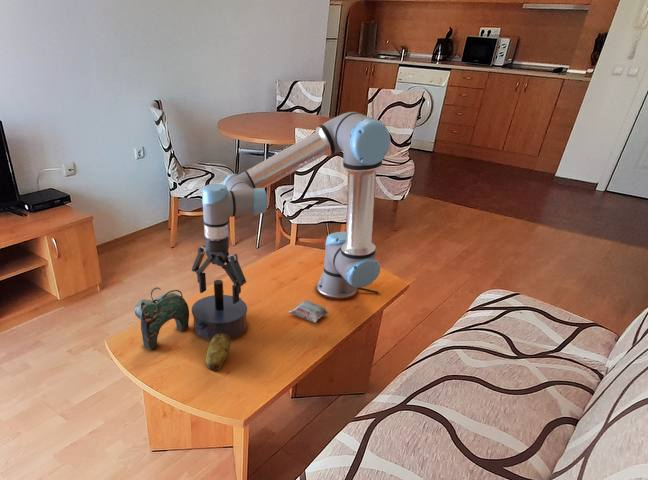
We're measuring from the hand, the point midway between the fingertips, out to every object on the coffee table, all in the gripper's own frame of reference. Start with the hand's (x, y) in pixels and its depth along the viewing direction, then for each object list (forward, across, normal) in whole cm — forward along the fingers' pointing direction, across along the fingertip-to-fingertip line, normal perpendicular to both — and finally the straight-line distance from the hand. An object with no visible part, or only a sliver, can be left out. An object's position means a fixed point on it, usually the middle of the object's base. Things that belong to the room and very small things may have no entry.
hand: (219, 296), depth 168 cm
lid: (+5, 0, 0) cm, 5 cm away
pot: (+12, 0, 0) cm, 12 cm away
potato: (+12, -11, +17) cm, 24 cm away
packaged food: (+12, -23, -22) cm, 34 cm away
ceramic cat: (+12, +12, +16) cm, 23 cm away
